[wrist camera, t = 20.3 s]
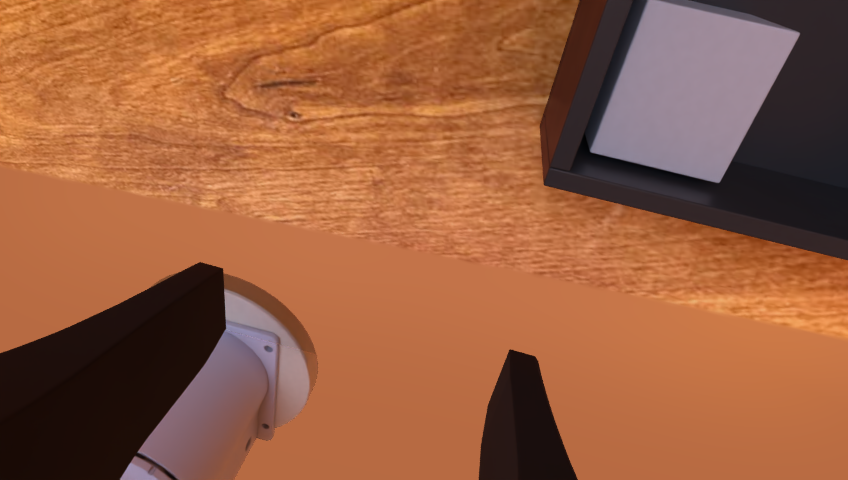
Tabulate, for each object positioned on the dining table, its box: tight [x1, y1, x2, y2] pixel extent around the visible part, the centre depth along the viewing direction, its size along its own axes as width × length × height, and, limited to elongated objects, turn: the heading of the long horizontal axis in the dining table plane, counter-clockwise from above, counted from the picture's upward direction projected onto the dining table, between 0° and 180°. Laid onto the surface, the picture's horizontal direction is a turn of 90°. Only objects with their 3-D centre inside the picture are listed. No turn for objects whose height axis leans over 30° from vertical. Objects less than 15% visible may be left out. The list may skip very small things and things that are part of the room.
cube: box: [584, 0, 800, 183], centre depth 16 cm, size 4×4×4 cm
